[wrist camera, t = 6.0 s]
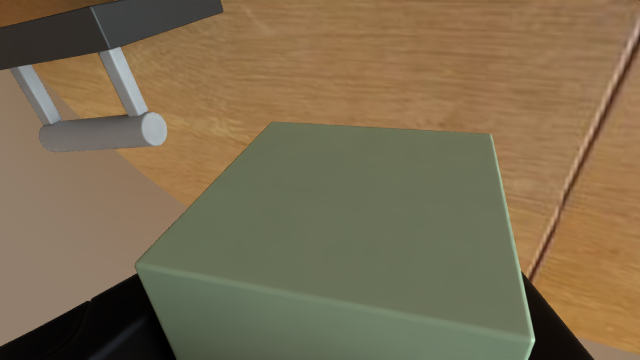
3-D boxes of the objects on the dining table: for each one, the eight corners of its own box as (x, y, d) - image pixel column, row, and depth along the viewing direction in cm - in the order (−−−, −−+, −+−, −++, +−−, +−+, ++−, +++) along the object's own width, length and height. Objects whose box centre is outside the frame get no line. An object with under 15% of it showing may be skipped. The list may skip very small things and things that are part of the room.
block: (460, 296, 9) (467, 522, 6) (292, 267, 10) (210, 439, 7) (493, 132, 7) (538, 341, 3) (271, 120, 8) (130, 263, 4)
